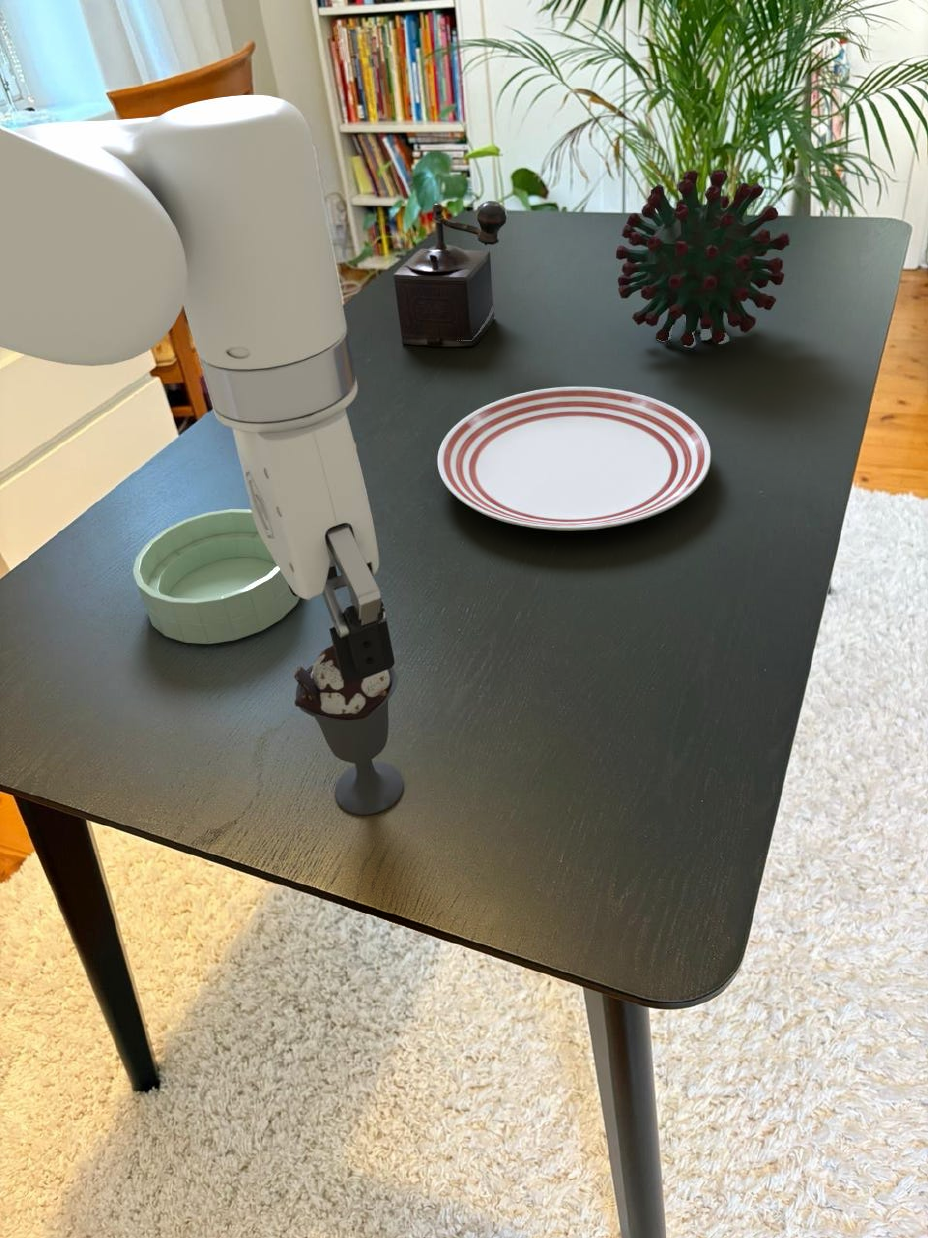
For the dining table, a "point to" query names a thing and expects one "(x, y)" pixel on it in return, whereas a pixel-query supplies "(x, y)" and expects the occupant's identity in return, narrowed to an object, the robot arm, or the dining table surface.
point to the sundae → (353, 730)
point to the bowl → (211, 579)
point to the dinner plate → (574, 458)
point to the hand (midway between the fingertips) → (340, 628)
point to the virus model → (700, 258)
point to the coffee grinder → (449, 285)
